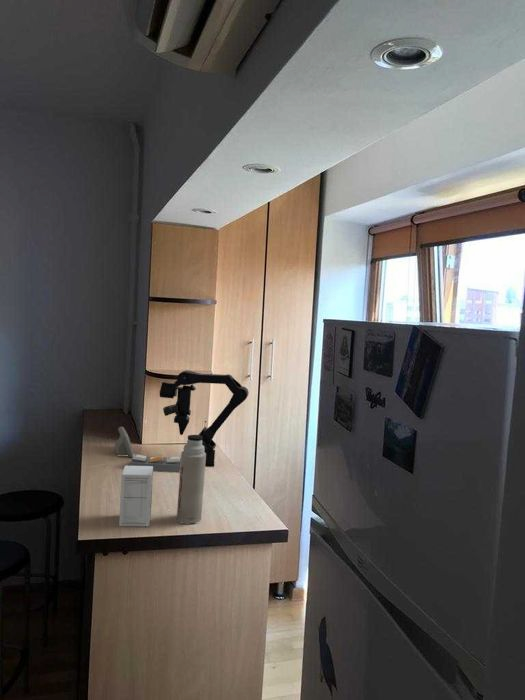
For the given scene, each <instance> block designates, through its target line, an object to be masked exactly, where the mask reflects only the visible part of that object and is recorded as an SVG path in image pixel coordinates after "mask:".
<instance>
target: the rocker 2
mask: <svg viewBox="0 0 525 700" xmlns="http://www.w3.org/2000/svg"><path fill="white" fill-rule="evenodd" d="M166 458H167V462H178V461H180V458H181V455H180V456H167V457H166Z"/></svg>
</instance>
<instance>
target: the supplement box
mask: <svg viewBox="0 0 525 700" xmlns="http://www.w3.org/2000/svg"><path fill="white" fill-rule="evenodd" d="M153 477H154V471H153V466H131V465H124V468H123V471H122V473H121V480H120V481H121V483H120V484H121V485H120V503H119V517H118V518H119V521H118V526H119V527H145V526H146V527H148V528H149V527H150V524H151V523H150V522H151V516H152V505H153V504H152V503H153V481H154V480H153V479H154V478H153Z"/></svg>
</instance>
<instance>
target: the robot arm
mask: <svg viewBox="0 0 525 700" xmlns="http://www.w3.org/2000/svg"><path fill="white" fill-rule="evenodd" d="M195 384H213V385H214V384H217V385H219V384H220V385H225V386H226V387H227V388H228V390H229V391H230V392H231V393H232V396H231V398H230V399H229V402H228V403H227V404H226V406H225V407H224V408H223V410H222V411H221V412H220V413H219V415H218V416H217V417H216V419H214V421H213V422H212V424H211V425H210V426H208V427H206V426H204V427H203V428H202V430H200V432H199V433H198V434H197V435H200V436H202V437H203V439H202V445H203V446H204V449H205V451H204V452H205V453H206V462H205V467H211V468H212V467H215V457H216V449H215V448H216V446H217V443H216V442H215V441H214V440H213V439H214V438H215V435H216V434H217V432H218V430H219V429H220V428H221V427H222V425H223V424H224V423H225V421H226V420H227V419H228V418H229V416H231V414H232V413H233V412H234V410H235V409H236V408H238V407H239V406H240V405H241V404H242V403H243V402H245V400H247V398H248V397H249V390H248V388H247V387H245V386H243V385H242V384H241V383H240V382H238V381H237V380H236V379H235V378H234V377H233V375H231V374H230V373H229V374H228V373H227V374H215V373H214V374H213V373H199V372H196V371H193V370H187V369H185V370H183V371H181V372H179V374H178V375H177V379H176V381H174V382H168V381H167V382H166V381H162V382H161V386H160V390H159V397H160V398H163V399H172V400H173V399H174V398H175V397H177V398H176V402H175V404H170V405H167V406H164V407H163V408H162V410H163V414H164V417H167V416H169V415H175V416H174V417H173V423H176V424H178V425H177V426H178V430H179V435H180V436H183V435H184V432H185V431H186V428H187V427H188V424H189V423H190V417H189V416H191V415H192V414H191V402H192V401H191V397H192V392H193V391H195V390H196V389H197V388H196V387H195V386H194V385H195Z"/></svg>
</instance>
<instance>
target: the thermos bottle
mask: <svg viewBox="0 0 525 700" xmlns="http://www.w3.org/2000/svg"><path fill="white" fill-rule="evenodd" d="M202 439H203V437H202V436H200V435H198V434H190V435H187V441H186V444H184V446H183V451H181V454H180V458H181V466H180V473H179V479H178V480H179V482H178V483H179V485H178V493H177V494H178V497H177V509H176V510H177V511H176V521H177V520H178V521H180V522H183V523H196V522H199V521H200V520H201V521H202V512H203V511H202V510H203V495H204V485H205V473H206V472H205V471H206V466H205V462H206V453H205V452H204V451H205V449H204V446H203V445H202ZM178 521H177V522H178ZM201 521H200V522H201ZM180 522H179V523H180ZM200 522H199V523H200ZM183 523H182V524H183ZM196 524H197V523H196Z"/></svg>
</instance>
